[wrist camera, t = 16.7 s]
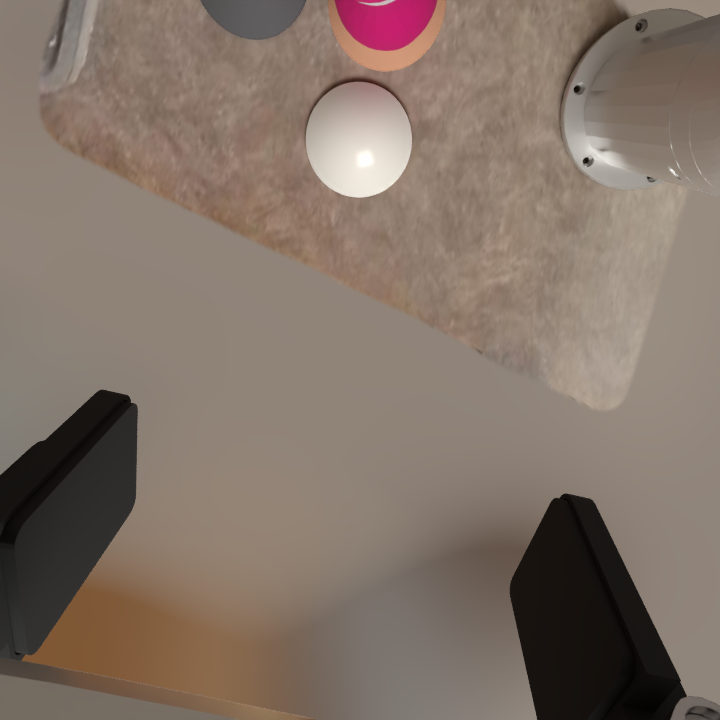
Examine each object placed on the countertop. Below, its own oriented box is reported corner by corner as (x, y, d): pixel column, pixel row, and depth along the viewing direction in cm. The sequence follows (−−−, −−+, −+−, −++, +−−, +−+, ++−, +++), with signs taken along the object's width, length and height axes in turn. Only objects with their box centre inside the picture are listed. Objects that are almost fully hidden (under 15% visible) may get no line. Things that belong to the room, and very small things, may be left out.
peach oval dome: (460, -51, 38) (461, -54, 37) (427, 83, 42) (427, 83, 41) (342, -82, 38) (341, -86, 37) (320, 56, 42) (318, 55, 41)
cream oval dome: (424, 97, 42) (424, 96, 41) (396, 206, 46) (396, 208, 45) (317, 70, 42) (316, 69, 41) (299, 182, 46) (297, 183, 45)
